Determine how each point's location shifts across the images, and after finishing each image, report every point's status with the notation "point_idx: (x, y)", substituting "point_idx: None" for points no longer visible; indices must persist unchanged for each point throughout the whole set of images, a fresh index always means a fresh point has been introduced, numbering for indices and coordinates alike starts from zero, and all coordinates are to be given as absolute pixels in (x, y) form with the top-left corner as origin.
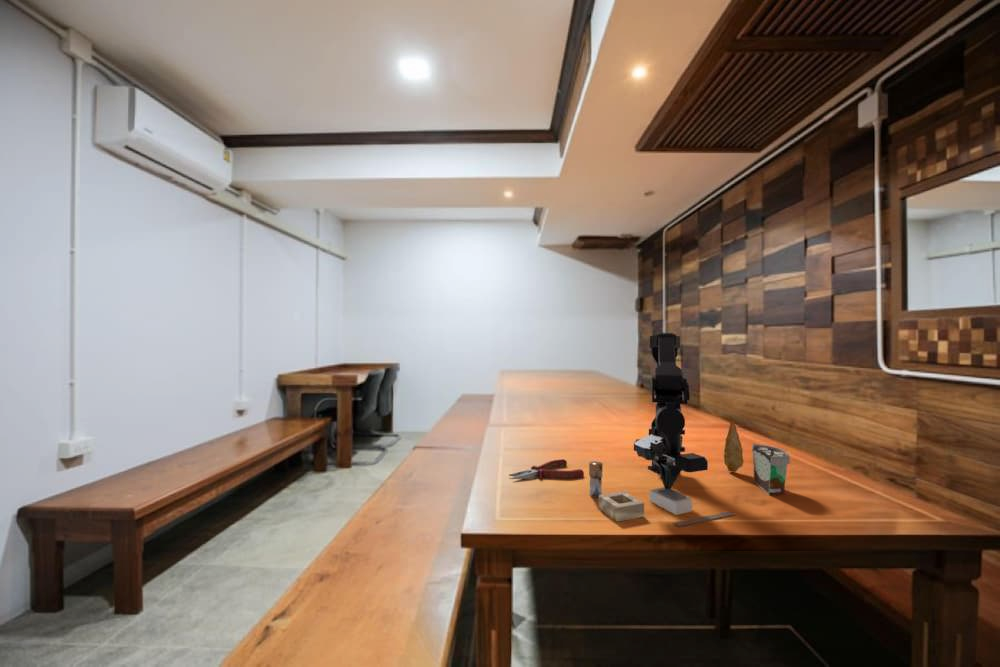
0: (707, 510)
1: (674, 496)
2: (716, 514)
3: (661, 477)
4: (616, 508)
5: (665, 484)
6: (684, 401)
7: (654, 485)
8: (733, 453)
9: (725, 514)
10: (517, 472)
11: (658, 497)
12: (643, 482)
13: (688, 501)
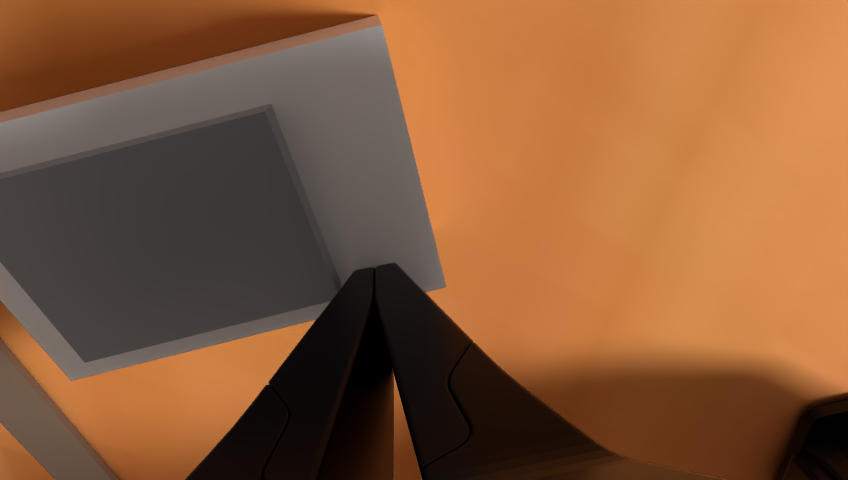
0: (153, 401)
1: (39, 230)
2: (54, 421)
3: (443, 320)
4: None
5: (371, 292)
6: None
7: (692, 272)
8: None
9: (66, 465)
10: None
11: (209, 65)
12: (794, 216)
13: (46, 330)
